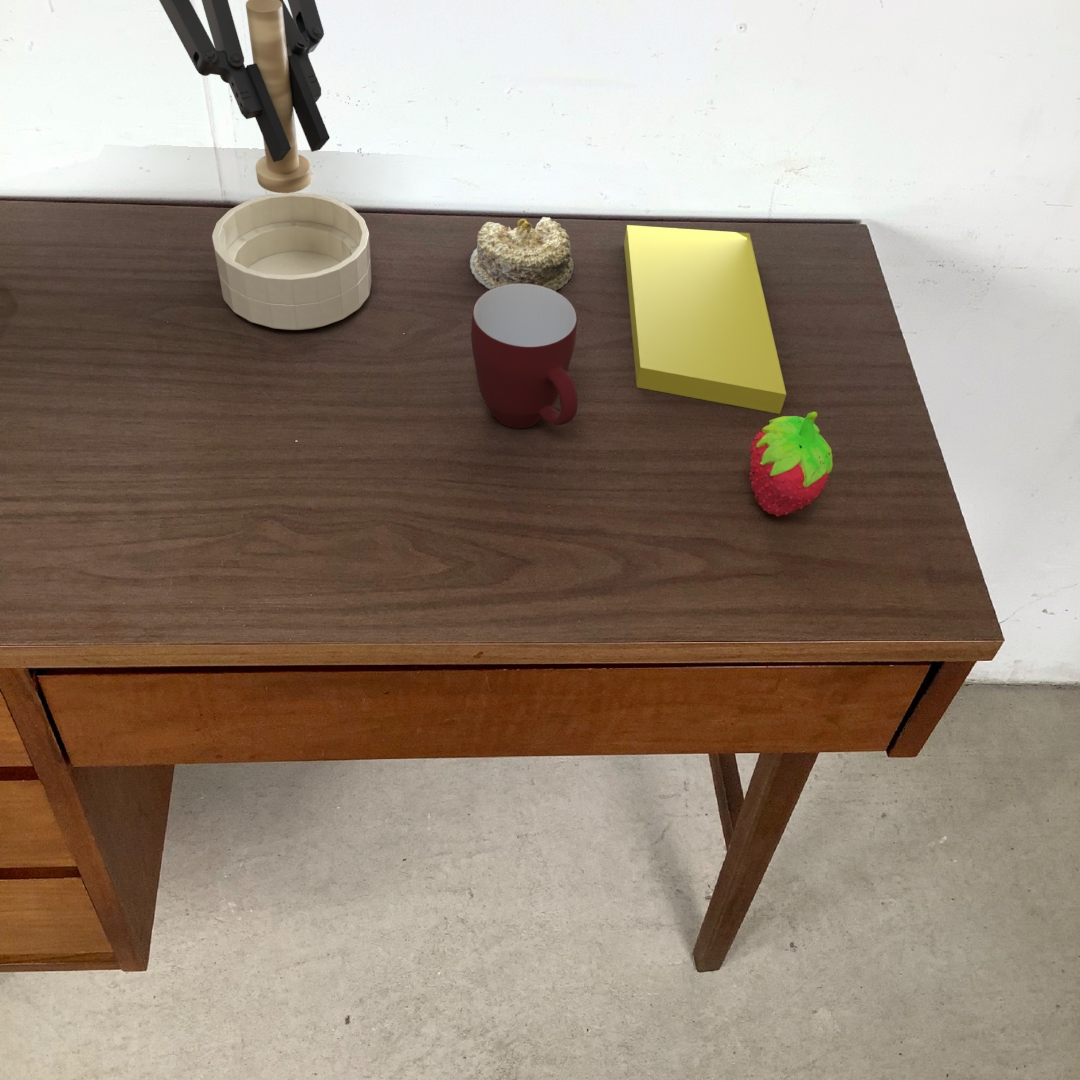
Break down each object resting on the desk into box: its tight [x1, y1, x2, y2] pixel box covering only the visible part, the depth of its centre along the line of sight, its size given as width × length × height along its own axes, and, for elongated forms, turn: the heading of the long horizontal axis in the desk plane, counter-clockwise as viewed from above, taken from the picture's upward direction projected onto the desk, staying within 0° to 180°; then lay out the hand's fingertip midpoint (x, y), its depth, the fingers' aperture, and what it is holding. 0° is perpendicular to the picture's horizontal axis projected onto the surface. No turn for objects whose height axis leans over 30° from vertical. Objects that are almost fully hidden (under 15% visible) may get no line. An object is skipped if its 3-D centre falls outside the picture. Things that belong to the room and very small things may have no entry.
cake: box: [469, 216, 575, 292], centre depth 100 cm, size 10×10×5 cm
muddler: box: [245, 0, 313, 194], centre depth 83 cm, size 4×4×14 cm
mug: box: [470, 283, 579, 429], centre depth 84 cm, size 11×8×10 cm
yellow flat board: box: [623, 224, 787, 415], centre depth 97 cm, size 12×2×24 cm
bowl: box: [211, 192, 373, 331], centre depth 95 cm, size 13×13×6 cm
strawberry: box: [749, 411, 834, 517], centre depth 80 cm, size 6×7×10 cm
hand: (301, 149), depth 83 cm, fingers closed on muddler, 3 cm apart
